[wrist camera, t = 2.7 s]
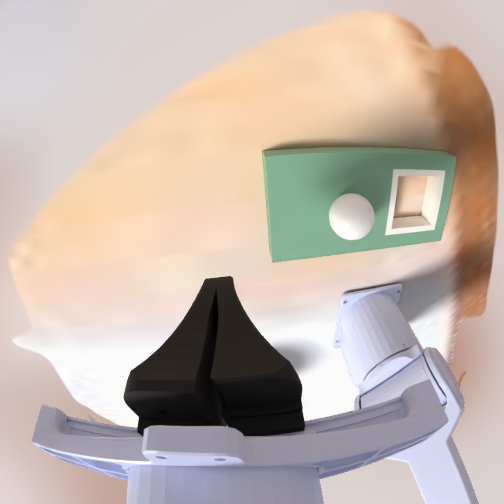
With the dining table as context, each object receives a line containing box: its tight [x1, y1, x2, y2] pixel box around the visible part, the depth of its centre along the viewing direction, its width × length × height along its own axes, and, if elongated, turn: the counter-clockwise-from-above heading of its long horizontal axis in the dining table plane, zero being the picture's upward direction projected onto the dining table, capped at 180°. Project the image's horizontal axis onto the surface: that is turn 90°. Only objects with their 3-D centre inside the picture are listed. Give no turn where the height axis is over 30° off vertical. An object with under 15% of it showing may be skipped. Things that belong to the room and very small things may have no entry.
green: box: [262, 147, 457, 262], centre depth 22 cm, size 9×18×2 cm, turn 95°
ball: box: [329, 193, 375, 240], centre depth 19 cm, size 4×4×4 cm
